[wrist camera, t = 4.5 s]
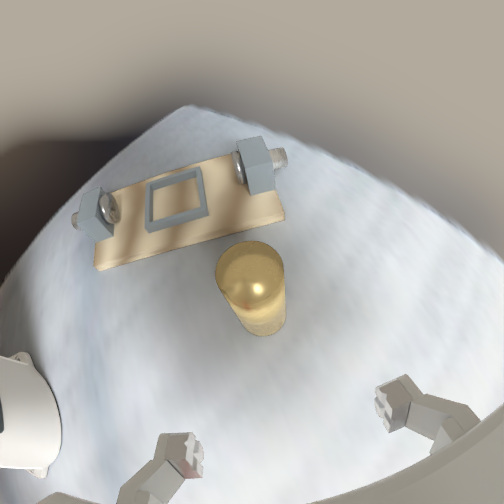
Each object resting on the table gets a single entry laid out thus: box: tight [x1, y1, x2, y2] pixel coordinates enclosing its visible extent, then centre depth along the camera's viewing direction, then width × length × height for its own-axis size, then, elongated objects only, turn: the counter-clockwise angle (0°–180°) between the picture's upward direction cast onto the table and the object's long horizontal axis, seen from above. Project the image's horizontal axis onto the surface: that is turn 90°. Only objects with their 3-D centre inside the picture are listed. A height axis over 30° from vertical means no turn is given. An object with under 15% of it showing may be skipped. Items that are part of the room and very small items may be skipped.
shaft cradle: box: [72, 136, 288, 271], centre depth 32 cm, size 28×12×6 cm, turn 103°
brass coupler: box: [215, 241, 286, 336], centre depth 22 cm, size 4×4×10 cm
